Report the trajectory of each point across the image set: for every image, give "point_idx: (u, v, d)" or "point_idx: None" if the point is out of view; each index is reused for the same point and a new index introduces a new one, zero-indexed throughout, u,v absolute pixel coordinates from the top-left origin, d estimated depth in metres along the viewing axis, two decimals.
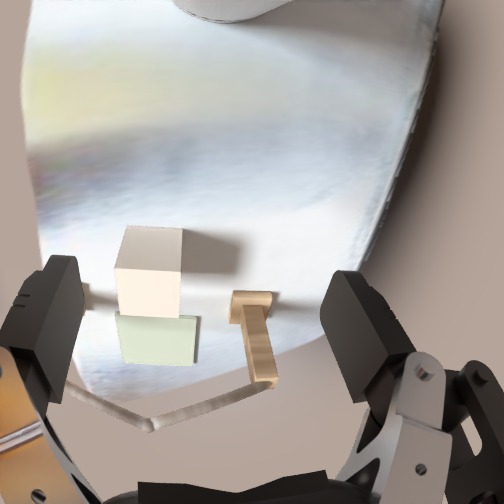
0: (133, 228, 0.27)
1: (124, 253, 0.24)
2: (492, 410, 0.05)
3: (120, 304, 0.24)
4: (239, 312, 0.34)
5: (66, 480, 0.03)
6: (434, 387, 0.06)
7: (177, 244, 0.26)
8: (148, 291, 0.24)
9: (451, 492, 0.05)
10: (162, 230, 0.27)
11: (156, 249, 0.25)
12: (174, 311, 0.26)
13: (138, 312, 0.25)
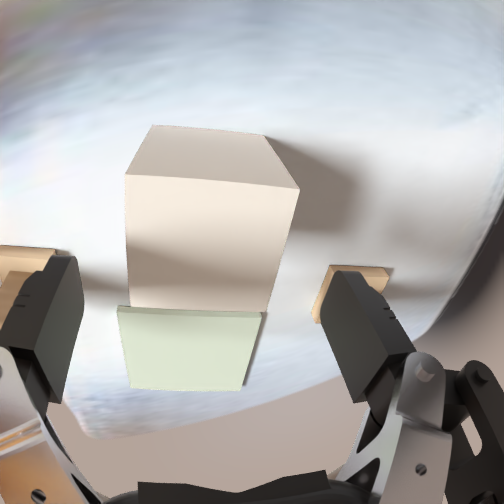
0: (166, 128, 0.13)
1: (151, 153, 0.10)
2: (492, 410, 0.05)
3: (131, 280, 0.10)
4: None
5: (66, 480, 0.03)
6: (434, 387, 0.06)
7: (266, 150, 0.12)
8: (208, 243, 0.10)
9: (451, 492, 0.05)
10: (226, 133, 0.13)
11: (226, 153, 0.11)
12: (260, 296, 0.12)
13: (175, 300, 0.11)
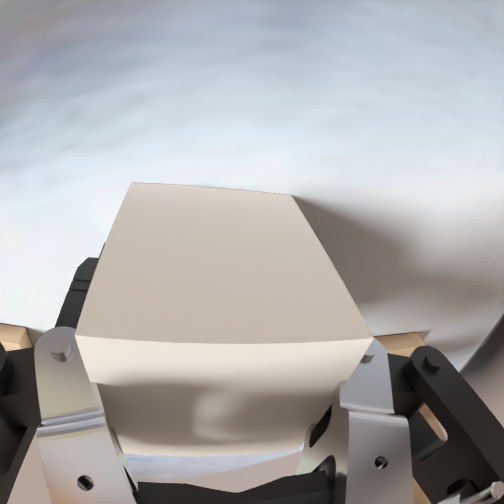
0: (150, 190, 0.09)
1: (122, 263, 0.06)
2: (451, 398, 0.06)
3: None
4: None
5: (120, 473, 0.03)
6: (372, 369, 0.06)
7: (304, 234, 0.08)
8: (224, 408, 0.06)
9: (424, 481, 0.06)
10: (239, 196, 0.09)
11: (245, 251, 0.07)
12: (293, 439, 0.08)
13: (179, 450, 0.07)
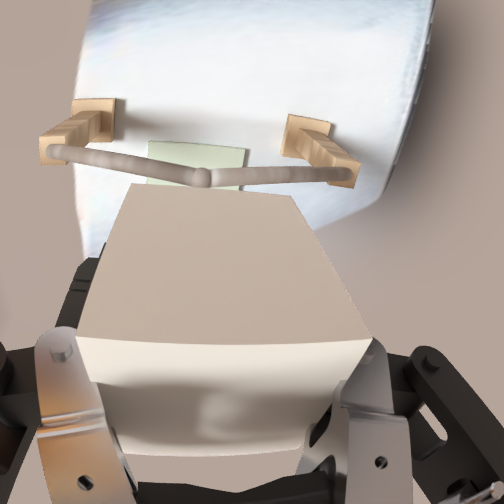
0: (150, 191, 0.09)
1: (122, 264, 0.06)
2: (451, 398, 0.06)
3: None
4: (295, 139, 0.29)
5: (120, 472, 0.03)
6: (372, 369, 0.06)
7: (303, 235, 0.08)
8: (225, 408, 0.06)
9: (424, 481, 0.06)
10: (239, 197, 0.09)
11: (244, 252, 0.07)
12: (292, 440, 0.08)
13: (179, 450, 0.07)
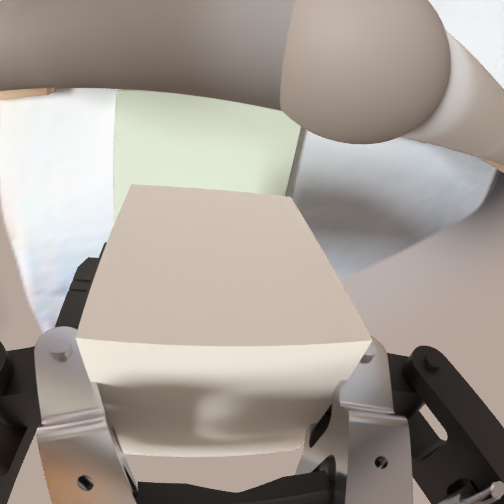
0: (150, 192, 0.09)
1: (122, 266, 0.06)
2: (451, 398, 0.06)
3: (118, 436, 0.06)
4: None
5: (120, 473, 0.03)
6: (371, 369, 0.06)
7: (303, 236, 0.08)
8: (225, 409, 0.06)
9: (424, 481, 0.06)
10: (239, 198, 0.09)
11: (244, 253, 0.07)
12: (292, 440, 0.08)
13: (179, 451, 0.07)
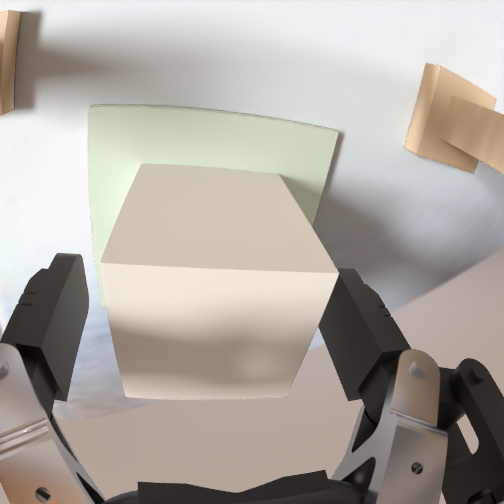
0: (158, 168, 0.10)
1: (137, 217, 0.08)
2: (488, 408, 0.05)
3: (124, 374, 0.08)
4: (443, 119, 0.11)
5: (71, 479, 0.03)
6: (428, 385, 0.06)
7: (286, 201, 0.10)
8: (218, 339, 0.08)
9: (448, 491, 0.05)
10: (233, 174, 0.11)
11: (236, 210, 0.09)
12: (280, 383, 0.09)
13: (178, 392, 0.09)
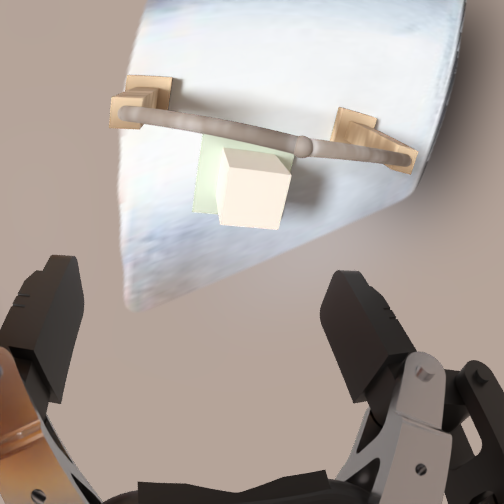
0: (230, 149, 0.29)
1: (233, 160, 0.26)
2: (492, 410, 0.05)
3: (223, 211, 0.26)
4: (345, 131, 0.29)
5: (66, 480, 0.03)
6: (434, 387, 0.06)
7: (277, 161, 0.28)
8: (257, 195, 0.26)
9: (451, 492, 0.05)
10: (258, 153, 0.29)
11: (261, 162, 0.27)
12: (276, 221, 0.27)
13: (240, 221, 0.27)
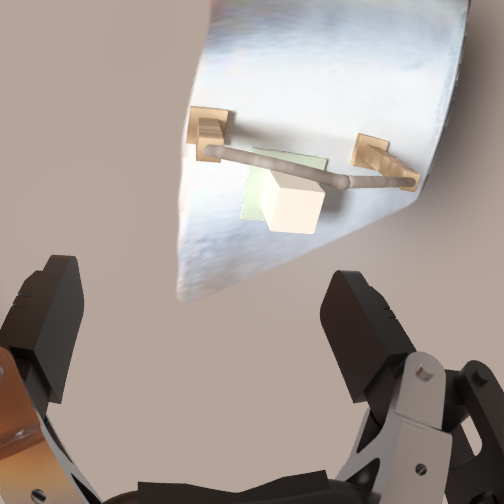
0: None
1: (280, 181, 0.34)
2: (492, 410, 0.05)
3: (273, 220, 0.34)
4: (363, 153, 0.37)
5: (66, 480, 0.03)
6: (434, 387, 0.06)
7: None
8: (299, 208, 0.34)
9: (451, 492, 0.05)
10: None
11: (300, 181, 0.35)
12: (312, 227, 0.35)
13: (285, 228, 0.35)
